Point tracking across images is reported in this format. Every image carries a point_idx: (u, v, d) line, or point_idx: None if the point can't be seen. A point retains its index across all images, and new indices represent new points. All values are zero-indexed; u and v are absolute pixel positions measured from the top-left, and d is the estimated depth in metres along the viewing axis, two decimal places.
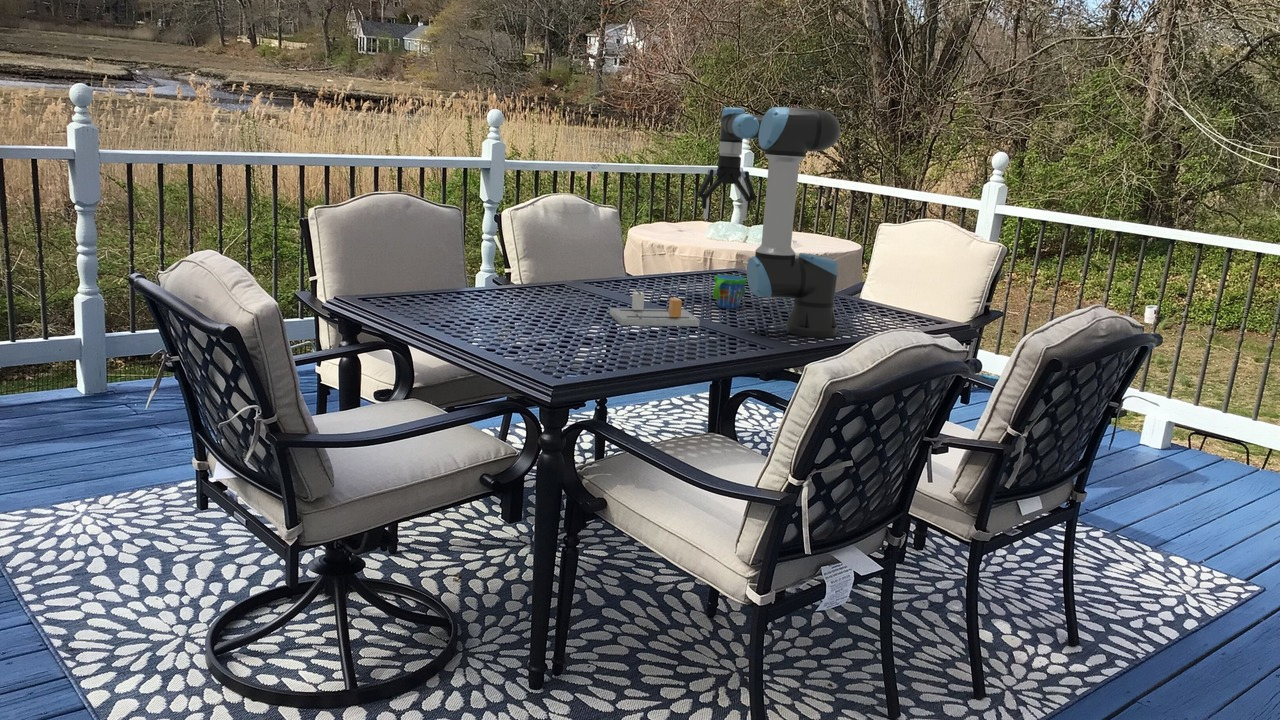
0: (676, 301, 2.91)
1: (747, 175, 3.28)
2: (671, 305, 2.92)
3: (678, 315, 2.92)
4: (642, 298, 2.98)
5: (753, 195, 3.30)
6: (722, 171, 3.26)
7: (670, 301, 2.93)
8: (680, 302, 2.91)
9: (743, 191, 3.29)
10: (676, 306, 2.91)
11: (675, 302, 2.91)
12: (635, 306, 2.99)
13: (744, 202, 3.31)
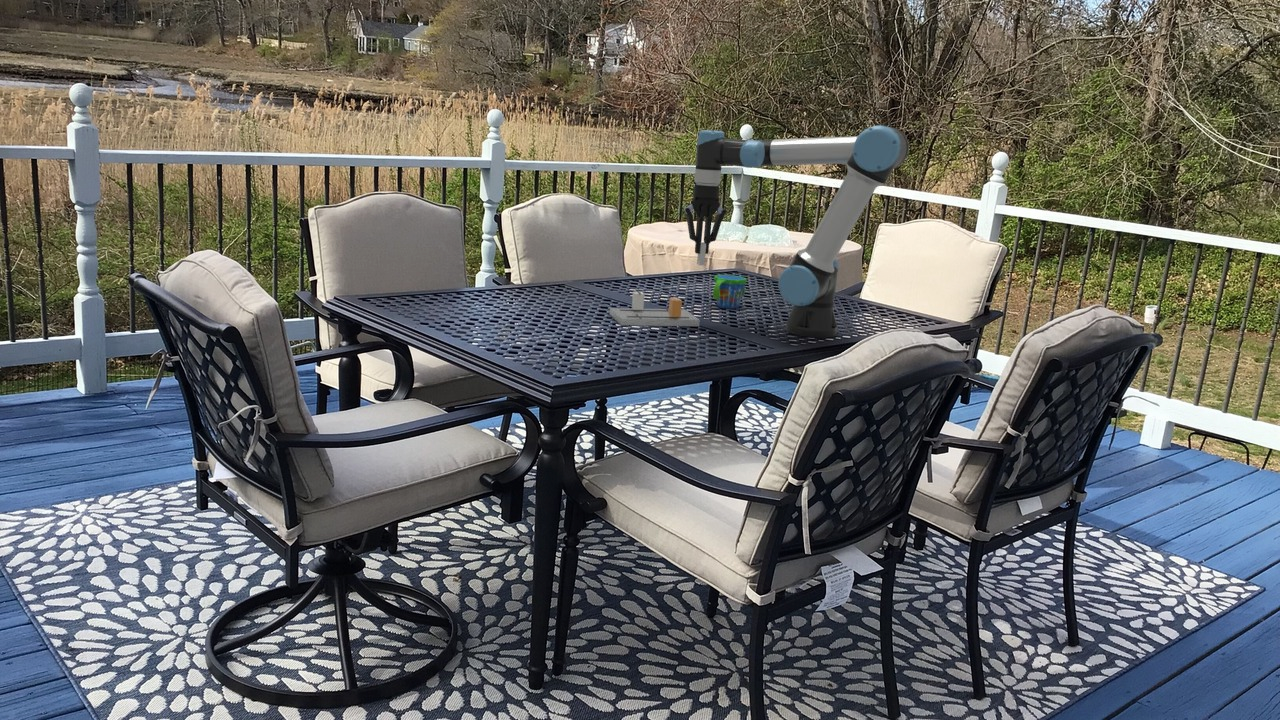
0: (676, 301, 2.91)
1: (723, 213, 2.88)
2: (671, 305, 2.92)
3: (678, 315, 2.92)
4: (642, 298, 2.98)
5: (714, 236, 2.89)
6: (697, 201, 2.85)
7: (670, 301, 2.93)
8: (680, 302, 2.91)
9: (708, 229, 2.88)
10: (676, 306, 2.91)
11: (675, 302, 2.91)
12: (635, 306, 2.99)
13: None
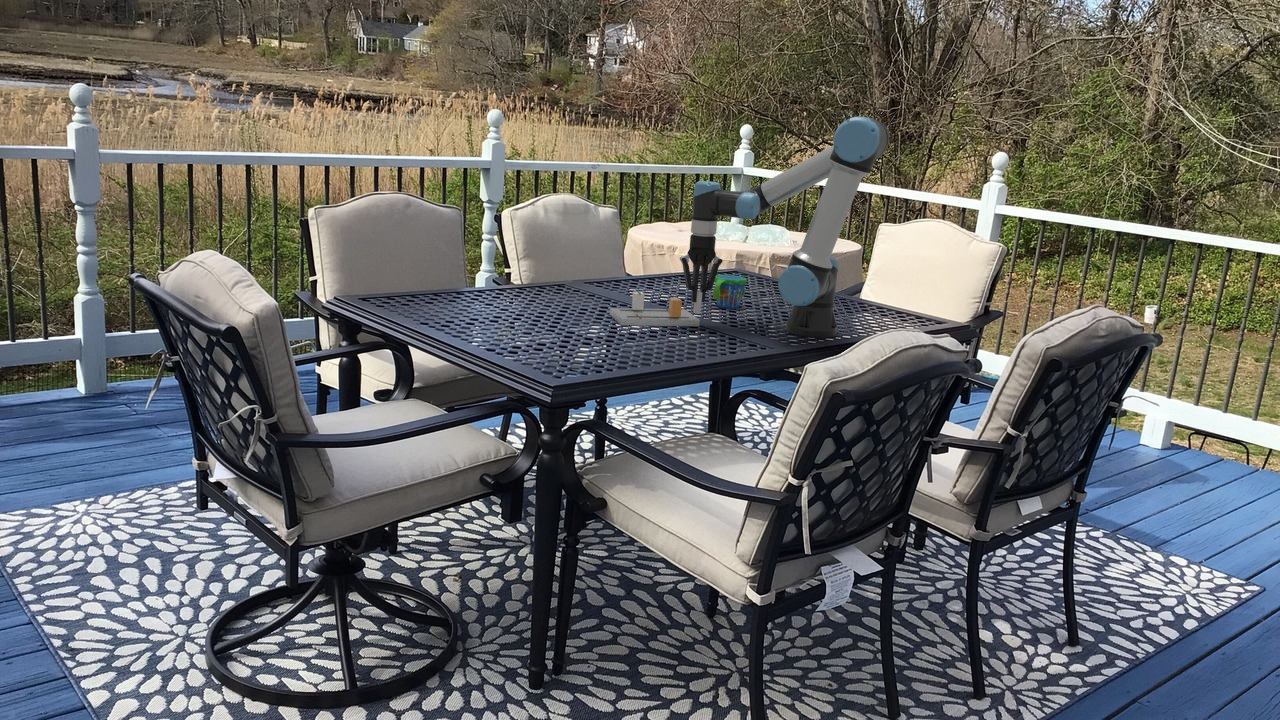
0: (676, 301, 2.91)
1: (719, 263, 2.92)
2: (671, 305, 2.92)
3: (678, 315, 2.92)
4: (642, 298, 2.98)
5: (710, 285, 2.93)
6: (693, 251, 2.89)
7: (670, 301, 2.93)
8: (680, 302, 2.91)
9: (704, 278, 2.92)
10: (676, 306, 2.91)
11: (675, 302, 2.91)
12: (635, 306, 2.99)
13: None
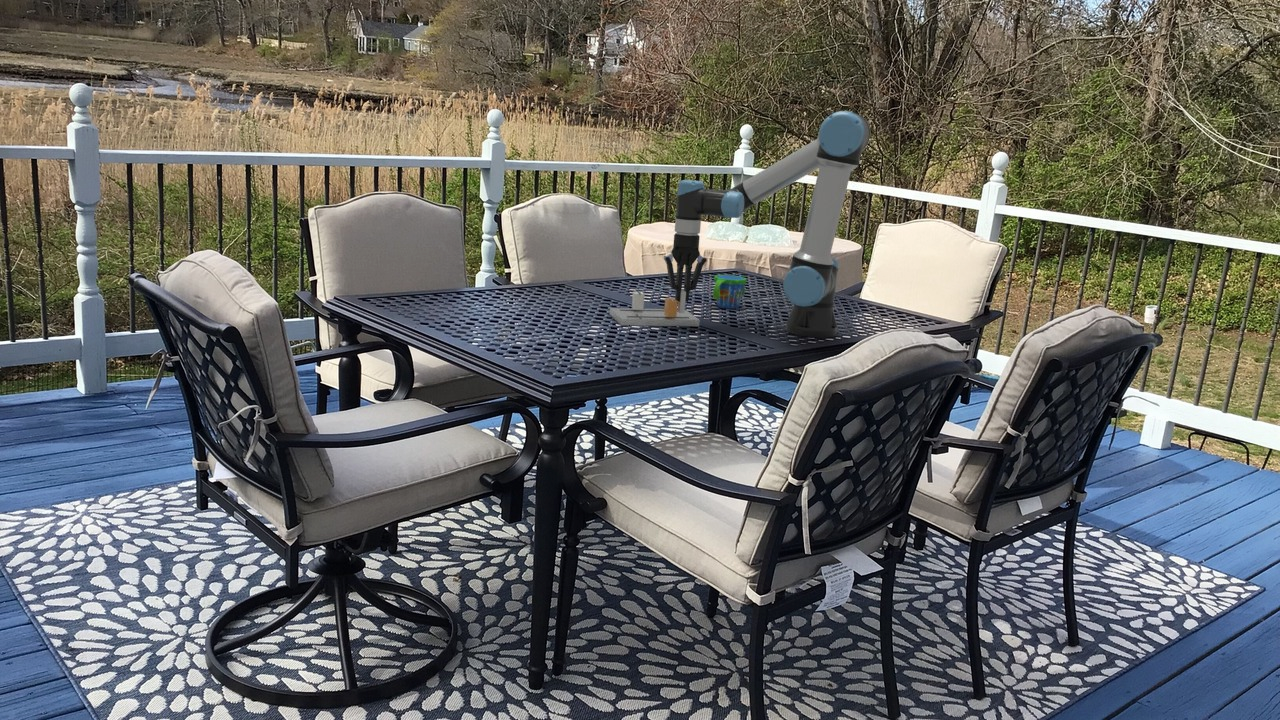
0: (672, 301, 2.90)
1: (703, 262, 2.90)
2: (667, 305, 2.91)
3: (674, 315, 2.92)
4: (642, 298, 2.98)
5: (694, 284, 2.92)
6: (677, 250, 2.88)
7: (666, 301, 2.92)
8: (676, 302, 2.91)
9: (688, 278, 2.91)
10: (672, 306, 2.91)
11: (670, 302, 2.90)
12: (635, 306, 2.99)
13: None
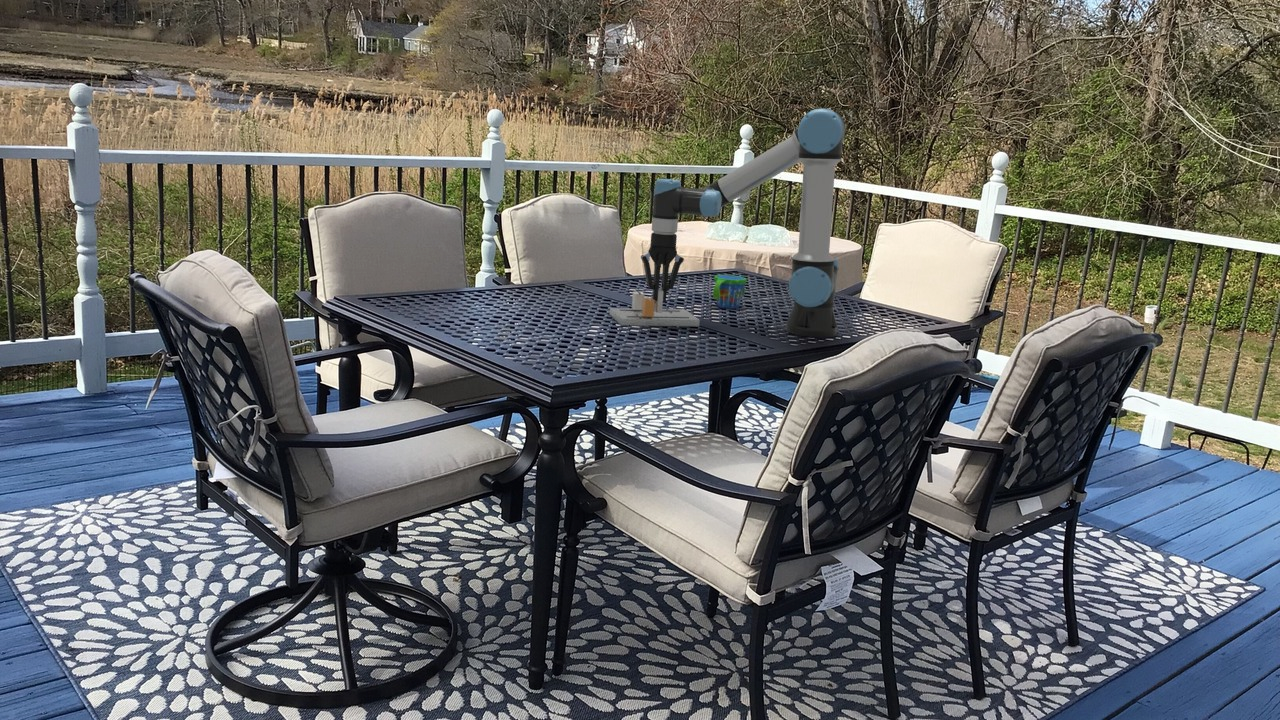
0: (649, 300, 2.89)
1: (680, 261, 2.89)
2: (644, 305, 2.90)
3: (651, 315, 2.90)
4: (642, 298, 2.98)
5: (671, 284, 2.90)
6: (654, 250, 2.86)
7: (643, 300, 2.91)
8: (653, 301, 2.89)
9: (665, 277, 2.89)
10: (649, 306, 2.89)
11: (647, 302, 2.89)
12: (635, 306, 2.99)
13: None
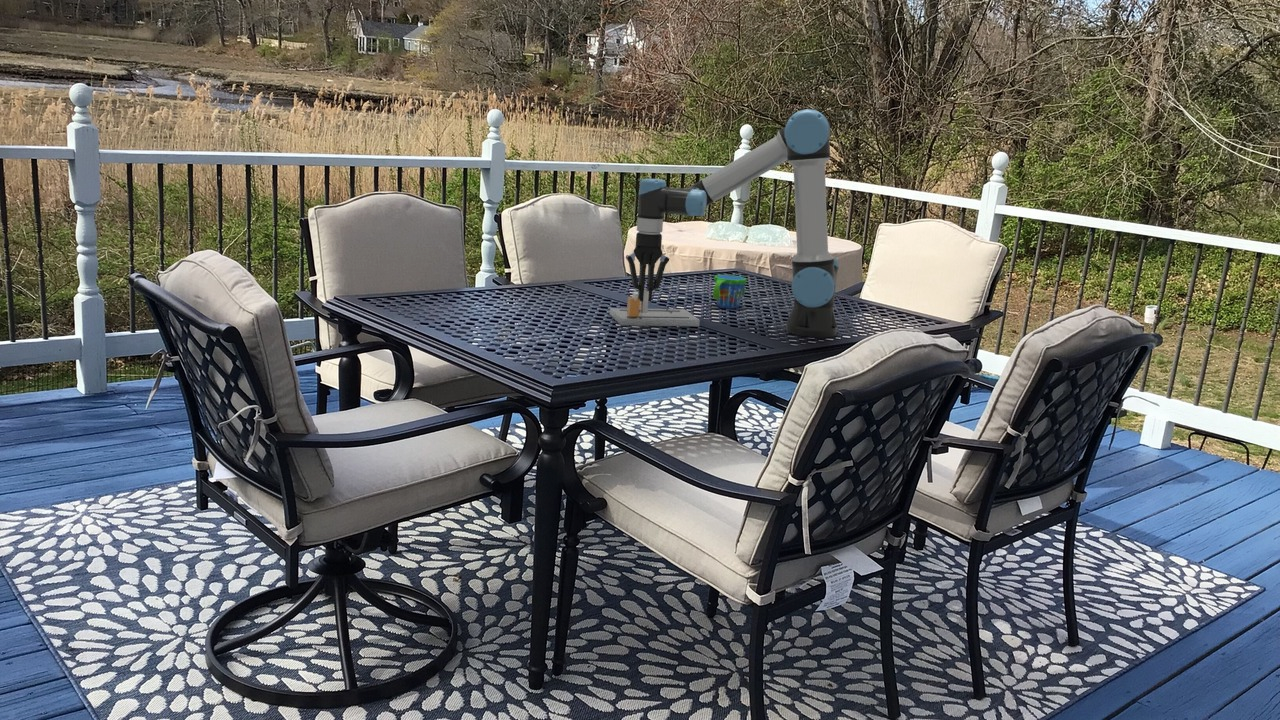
0: (634, 300, 2.88)
1: (665, 261, 2.88)
2: (629, 304, 2.89)
3: (636, 314, 2.89)
4: None
5: (657, 284, 2.89)
6: (639, 250, 2.85)
7: (628, 300, 2.90)
8: (638, 301, 2.88)
9: (651, 277, 2.88)
10: (634, 305, 2.88)
11: (632, 301, 2.88)
12: None
13: None
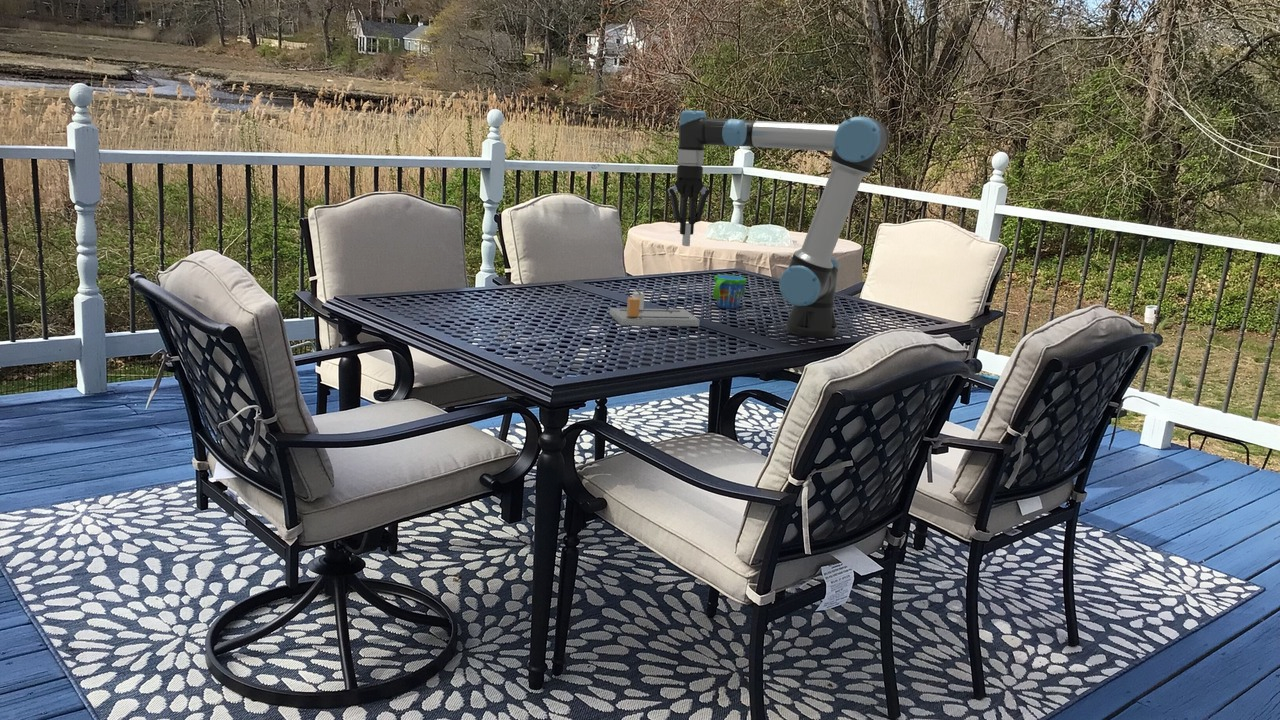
0: (634, 300, 2.88)
1: (707, 194, 2.89)
2: (629, 304, 2.89)
3: (636, 314, 2.89)
4: (642, 298, 2.98)
5: (699, 217, 2.90)
6: (680, 182, 2.86)
7: (628, 300, 2.90)
8: (638, 301, 2.88)
9: (692, 210, 2.89)
10: (634, 305, 2.88)
11: (632, 301, 2.88)
12: None
13: None
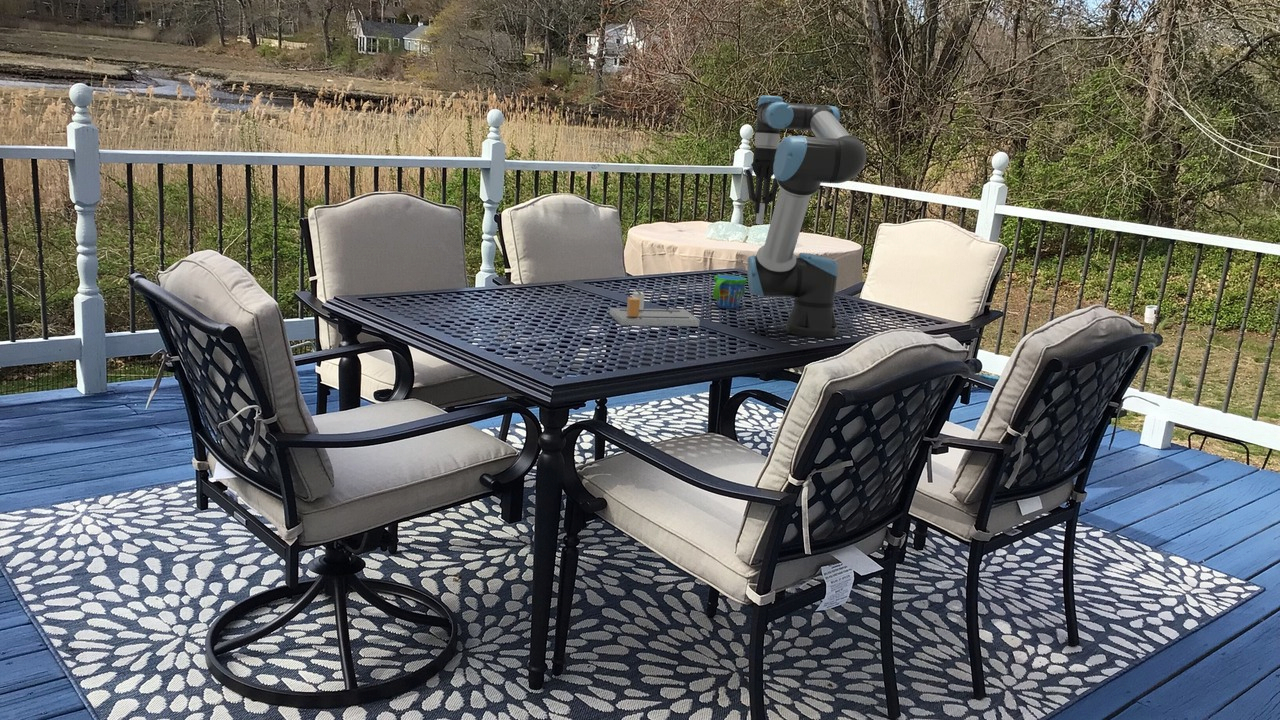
0: (634, 300, 2.88)
1: None
2: (629, 304, 2.89)
3: (636, 314, 2.89)
4: (642, 298, 2.98)
5: (772, 197, 3.06)
6: (757, 163, 3.03)
7: (628, 300, 2.90)
8: (638, 301, 2.88)
9: (767, 190, 3.05)
10: (634, 305, 2.88)
11: (632, 301, 2.88)
12: None
13: None
